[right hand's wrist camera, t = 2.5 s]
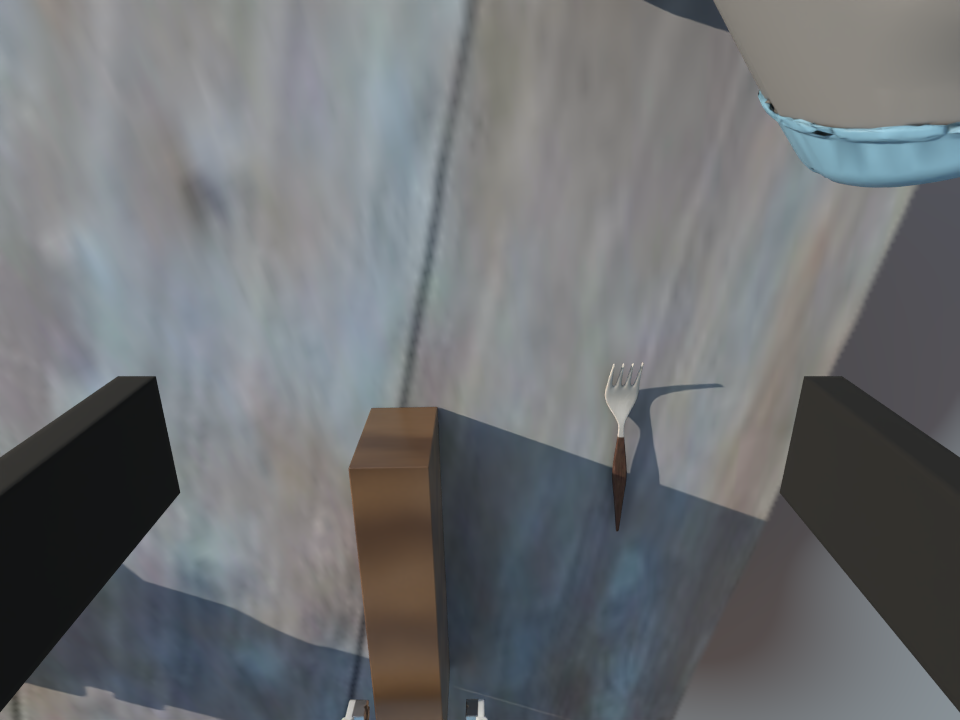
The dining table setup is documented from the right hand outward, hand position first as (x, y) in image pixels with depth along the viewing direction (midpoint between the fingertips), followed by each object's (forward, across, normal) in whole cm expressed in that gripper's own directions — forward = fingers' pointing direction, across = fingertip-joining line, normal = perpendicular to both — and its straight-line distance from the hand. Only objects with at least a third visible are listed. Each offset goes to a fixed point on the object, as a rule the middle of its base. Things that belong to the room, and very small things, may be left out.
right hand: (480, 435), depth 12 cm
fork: (+32, +11, -18) cm, 39 cm away
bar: (+32, -6, -29) cm, 43 cm away
